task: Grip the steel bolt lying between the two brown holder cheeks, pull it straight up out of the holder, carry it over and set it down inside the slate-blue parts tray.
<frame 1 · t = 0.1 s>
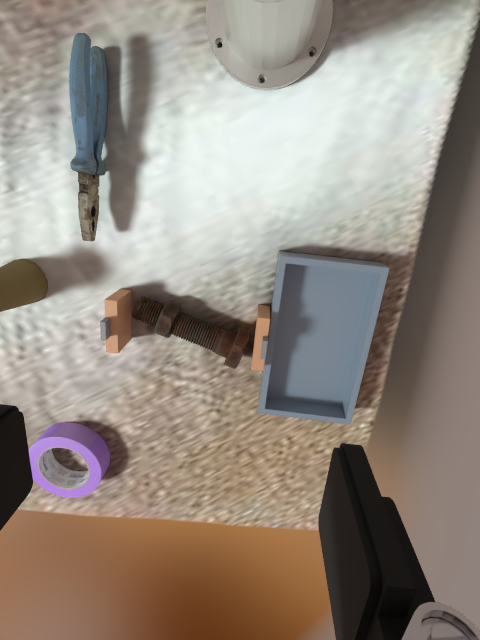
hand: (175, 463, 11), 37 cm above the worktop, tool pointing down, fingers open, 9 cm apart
pliers: (102, 151, 42), on the worktop
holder: (193, 321, 49), on the worktop
masking tape: (76, 450, 58), on the worktop
tray: (314, 336, 48), on the worktop
cork: (26, 281, 48), on the worktop
bolt: (193, 321, 49), on the worktop
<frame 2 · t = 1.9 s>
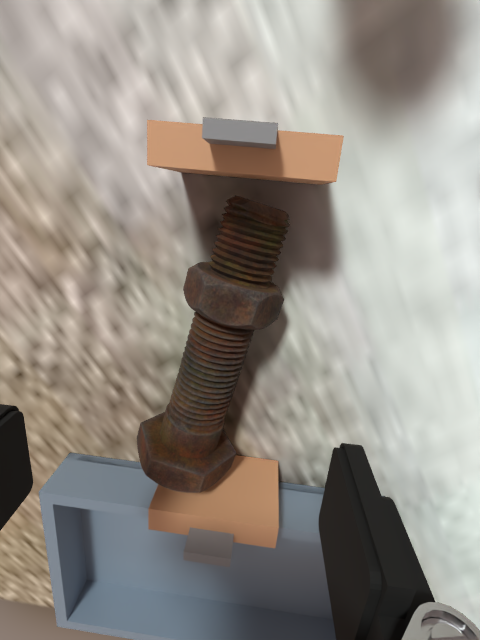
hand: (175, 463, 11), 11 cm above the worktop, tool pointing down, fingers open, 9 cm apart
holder: (235, 335, 21), on the worktop
tray: (217, 541, 26), on the worktop
bolt: (225, 330, 21), on the worktop
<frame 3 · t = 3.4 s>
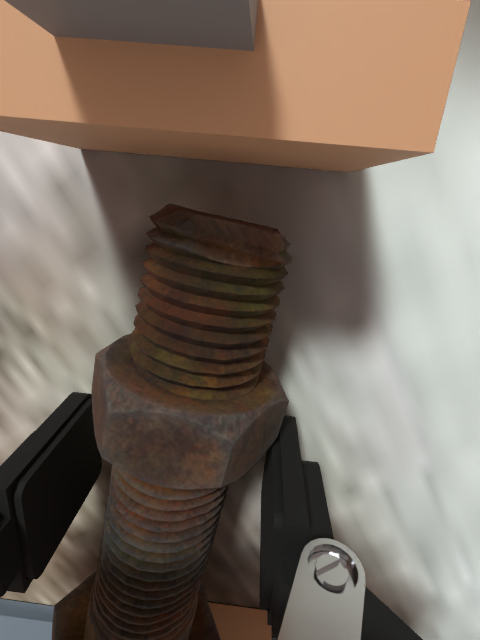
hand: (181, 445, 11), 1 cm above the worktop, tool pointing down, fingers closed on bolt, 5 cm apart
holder: (197, 432, 12), on the worktop
bolt: (191, 432, 12), on the worktop, touching gripper
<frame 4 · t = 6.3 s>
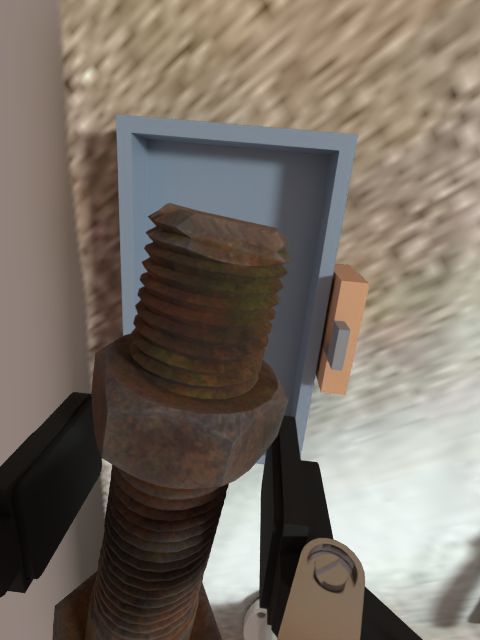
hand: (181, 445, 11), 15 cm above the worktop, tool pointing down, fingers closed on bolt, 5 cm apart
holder: (461, 326, 25), on the worktop
tray: (227, 302, 26), on the worktop
bolt: (191, 432, 12), point 14 cm above the worktop, touching gripper
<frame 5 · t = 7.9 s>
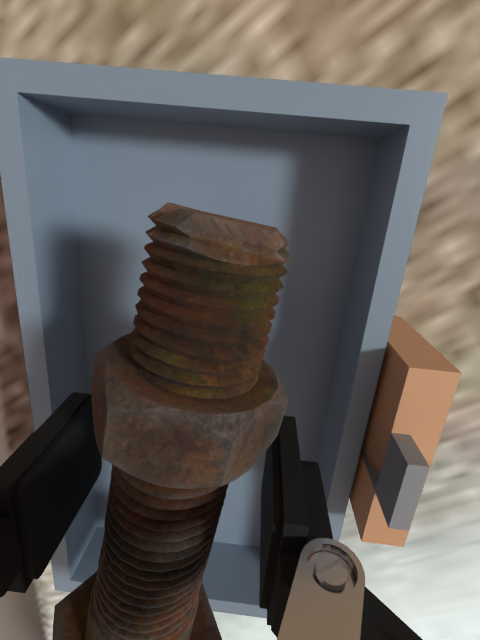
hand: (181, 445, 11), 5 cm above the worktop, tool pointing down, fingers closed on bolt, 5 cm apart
tray: (208, 370, 17), on the worktop
bolt: (191, 431, 12), point 4 cm above the worktop, touching gripper
when the fingers open (3 cm above the worktop, at t = 9.3 s): bolt drops 1 cm, resting on tray.
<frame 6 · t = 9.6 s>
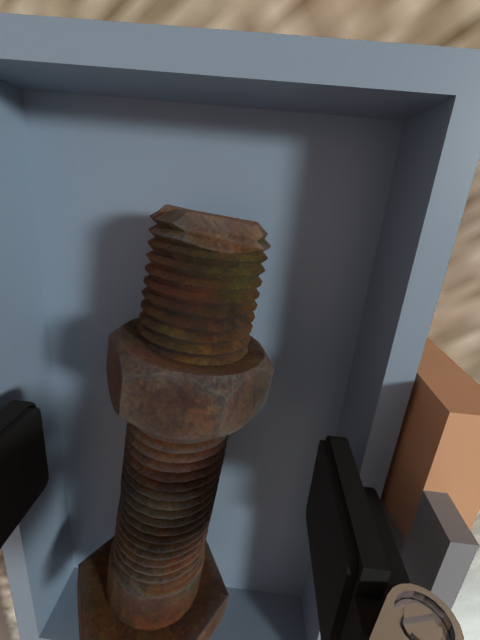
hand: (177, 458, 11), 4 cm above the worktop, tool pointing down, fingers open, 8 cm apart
tray: (198, 395, 14), on the worktop
bolt: (193, 407, 14), resting on tray
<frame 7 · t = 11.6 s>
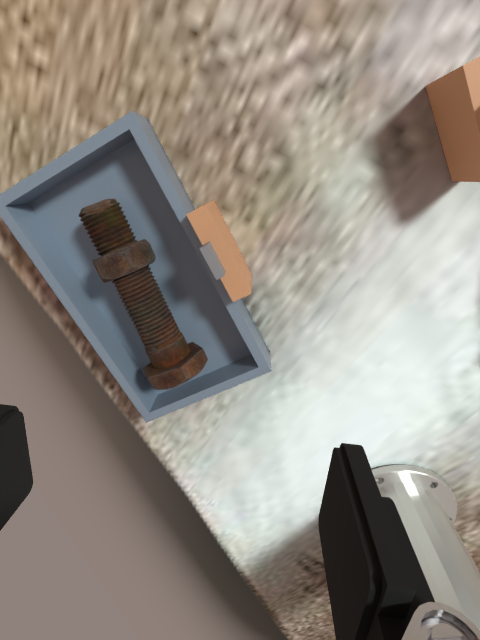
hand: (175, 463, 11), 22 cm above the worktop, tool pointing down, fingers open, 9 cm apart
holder: (330, 190, 28), on the worktop
tray: (152, 280, 31), on the worktop
bolt: (151, 286, 31), resting on tray
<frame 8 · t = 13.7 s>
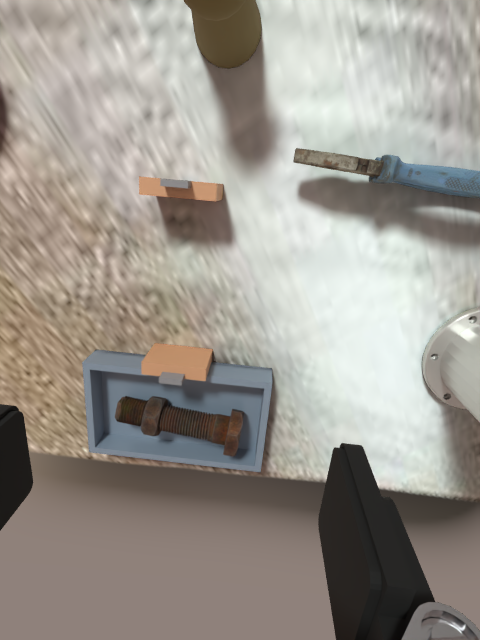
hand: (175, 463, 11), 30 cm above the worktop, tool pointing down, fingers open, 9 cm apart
pliers: (391, 175, 35), on the worktop
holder: (186, 277, 40), on the worktop
tray: (181, 403, 46), on the worktop
cork: (228, 29, 32), on the worktop
bolt: (184, 407, 45), resting on tray
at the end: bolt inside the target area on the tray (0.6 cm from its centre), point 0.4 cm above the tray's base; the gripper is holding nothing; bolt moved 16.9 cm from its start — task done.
